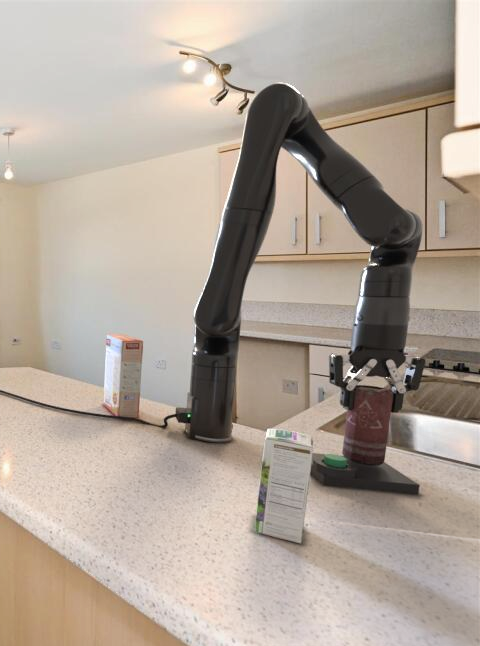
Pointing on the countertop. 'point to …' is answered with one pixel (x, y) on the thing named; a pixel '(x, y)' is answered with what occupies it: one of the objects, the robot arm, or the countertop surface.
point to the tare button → (335, 460)
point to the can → (368, 425)
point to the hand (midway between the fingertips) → (369, 410)
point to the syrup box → (284, 484)
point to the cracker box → (123, 375)
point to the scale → (362, 476)
